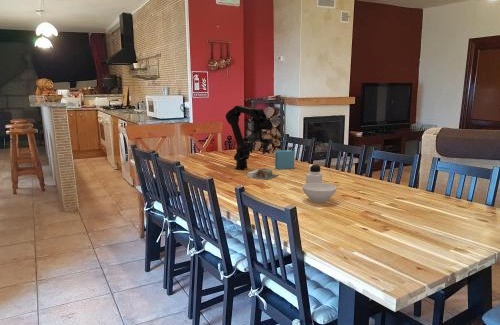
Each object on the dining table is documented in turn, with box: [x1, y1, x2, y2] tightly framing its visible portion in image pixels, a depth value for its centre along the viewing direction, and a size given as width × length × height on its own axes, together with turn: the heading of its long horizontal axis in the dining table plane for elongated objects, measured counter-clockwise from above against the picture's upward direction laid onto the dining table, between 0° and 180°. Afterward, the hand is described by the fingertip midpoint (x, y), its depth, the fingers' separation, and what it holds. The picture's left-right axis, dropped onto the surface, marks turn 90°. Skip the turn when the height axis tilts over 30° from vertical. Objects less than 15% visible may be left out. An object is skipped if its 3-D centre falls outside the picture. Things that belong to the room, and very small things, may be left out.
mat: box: [252, 173, 279, 181], centre depth 231 cm, size 10×14×1 cm
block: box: [258, 167, 273, 178], centre depth 231 cm, size 4×7×6 cm
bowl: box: [301, 182, 337, 204], centre depth 181 cm, size 16×16×7 cm
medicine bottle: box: [305, 164, 323, 184], centre depth 207 cm, size 7×7×12 cm
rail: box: [247, 167, 264, 179], centre depth 234 cm, size 3×16×3 cm, turn 147°
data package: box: [274, 149, 296, 170], centre depth 254 cm, size 12×4×12 cm, turn 107°
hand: (257, 153), depth 241 cm, fingers open, 9 cm apart
